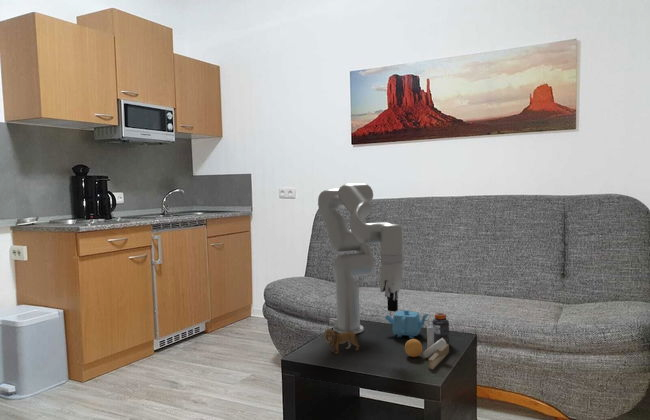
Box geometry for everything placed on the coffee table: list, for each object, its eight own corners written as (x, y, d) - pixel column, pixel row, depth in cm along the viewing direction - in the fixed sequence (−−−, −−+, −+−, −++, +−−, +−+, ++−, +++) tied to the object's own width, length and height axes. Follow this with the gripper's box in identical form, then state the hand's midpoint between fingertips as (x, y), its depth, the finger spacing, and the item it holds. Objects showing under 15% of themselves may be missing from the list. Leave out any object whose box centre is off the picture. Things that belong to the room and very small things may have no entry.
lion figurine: (328, 357, 165) (328, 331, 165) (321, 352, 170) (320, 328, 170) (363, 349, 173) (363, 325, 172) (355, 345, 177) (355, 321, 177)
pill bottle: (448, 341, 179) (447, 311, 179) (450, 346, 173) (450, 315, 173) (431, 341, 180) (431, 311, 180) (433, 346, 174) (433, 315, 174)
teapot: (380, 337, 186) (380, 312, 185) (390, 328, 199) (389, 304, 198) (427, 342, 179) (426, 316, 178) (433, 332, 192) (433, 307, 191)
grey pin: (426, 351, 169) (426, 327, 169) (428, 349, 171) (428, 325, 171) (433, 352, 168) (432, 328, 168) (435, 350, 170) (434, 326, 170)
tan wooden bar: (428, 368, 152) (428, 359, 152) (444, 351, 168) (444, 343, 168) (433, 369, 152) (432, 360, 152) (449, 352, 167) (448, 344, 167)
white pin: (421, 352, 162) (440, 338, 159) (424, 351, 164) (442, 337, 161) (426, 358, 161) (445, 344, 158) (428, 357, 163) (447, 343, 160)
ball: (418, 344, 159) (418, 361, 160) (425, 338, 164) (424, 355, 165) (402, 340, 163) (401, 357, 163) (409, 335, 168) (408, 351, 168)
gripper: (390, 255, 175) (391, 305, 176) (373, 261, 162) (374, 314, 163) (409, 256, 171) (410, 307, 172) (393, 262, 159) (394, 317, 159)
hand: (392, 310), depth 168 cm, fingers closed
